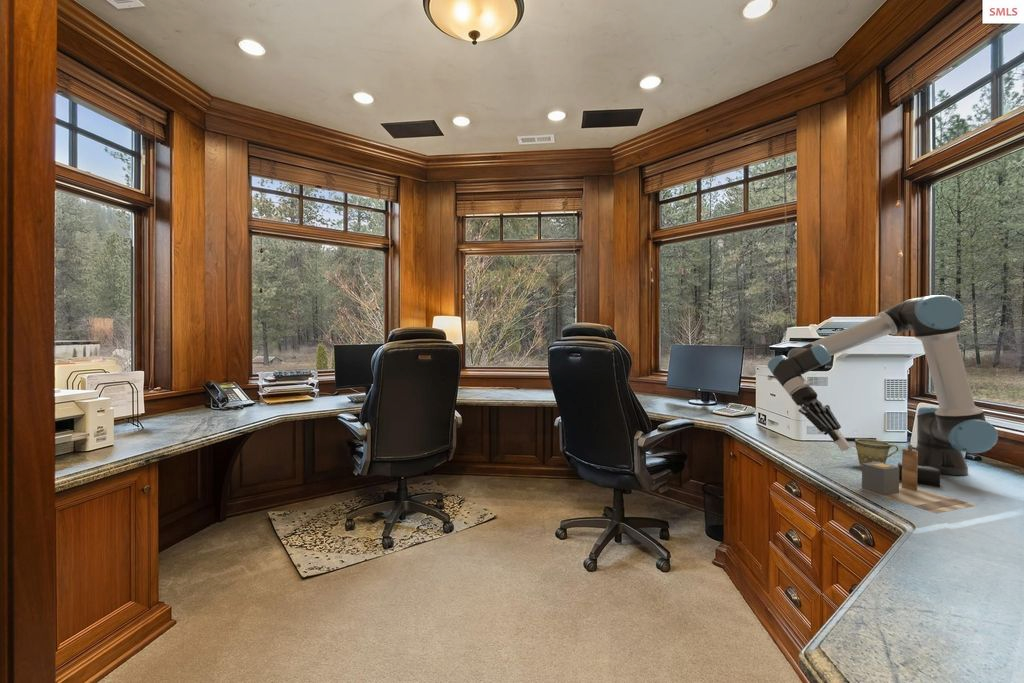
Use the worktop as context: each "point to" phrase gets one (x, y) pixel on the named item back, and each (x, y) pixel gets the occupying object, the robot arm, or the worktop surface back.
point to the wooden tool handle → (909, 468)
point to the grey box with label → (880, 478)
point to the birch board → (927, 500)
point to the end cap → (925, 475)
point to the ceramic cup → (872, 450)
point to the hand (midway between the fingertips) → (846, 448)
